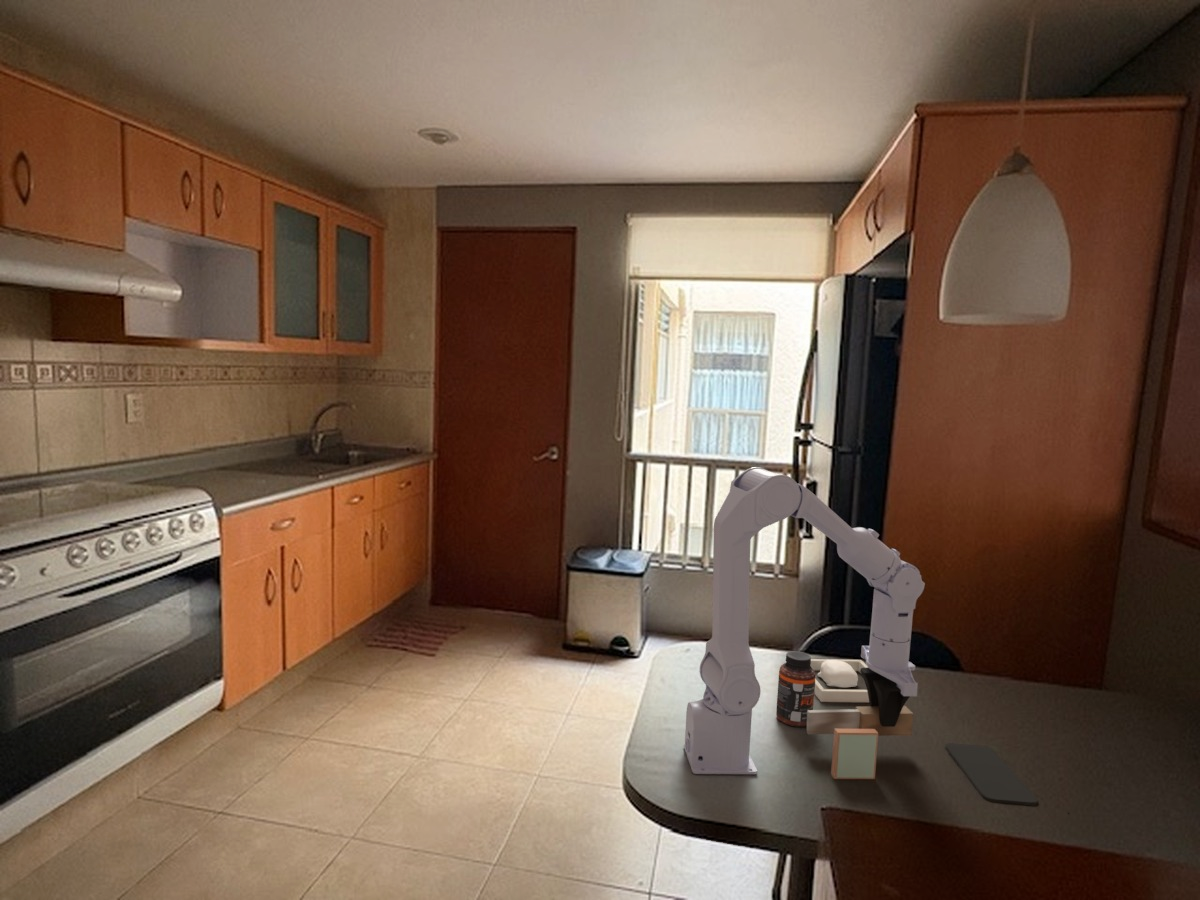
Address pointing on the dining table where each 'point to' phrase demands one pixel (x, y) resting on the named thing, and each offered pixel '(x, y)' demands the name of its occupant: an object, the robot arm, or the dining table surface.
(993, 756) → the phone
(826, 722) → the scraper
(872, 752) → the tile
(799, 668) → the supplement bottle
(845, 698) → the garlic dish rim
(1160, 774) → the dining table surface
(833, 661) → the white rounded lump
